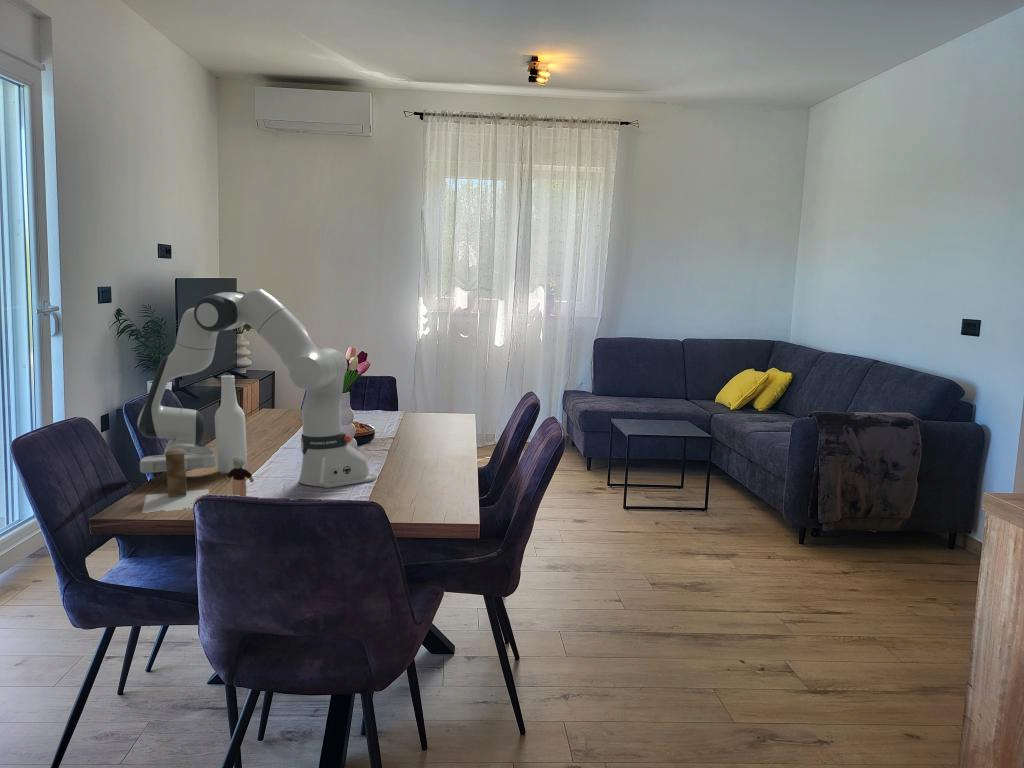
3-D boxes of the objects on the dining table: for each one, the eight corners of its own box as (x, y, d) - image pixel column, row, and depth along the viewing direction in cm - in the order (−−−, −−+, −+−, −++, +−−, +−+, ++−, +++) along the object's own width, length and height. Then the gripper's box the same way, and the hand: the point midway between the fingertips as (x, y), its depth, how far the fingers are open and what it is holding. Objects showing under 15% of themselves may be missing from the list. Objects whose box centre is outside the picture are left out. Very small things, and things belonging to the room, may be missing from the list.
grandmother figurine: (224, 503, 206) (221, 457, 205) (228, 499, 210) (225, 454, 208) (253, 503, 207) (251, 457, 205) (256, 499, 211) (254, 453, 209)
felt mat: (208, 490, 219) (208, 489, 219) (208, 508, 202) (208, 506, 202) (146, 496, 213) (146, 495, 213) (141, 515, 196) (141, 513, 196)
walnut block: (186, 491, 216) (184, 450, 214) (186, 496, 212) (183, 453, 210) (169, 493, 214) (166, 451, 212) (168, 497, 210) (165, 455, 208)
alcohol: (216, 475, 235) (210, 378, 231) (219, 468, 244) (213, 374, 239) (246, 473, 238) (241, 377, 233) (248, 466, 246) (243, 373, 242)
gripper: (140, 450, 227) (136, 460, 214) (214, 444, 234) (214, 454, 221) (141, 471, 228) (137, 482, 215) (215, 464, 235) (216, 475, 222)
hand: (177, 468), depth 218 cm, fingers closed
